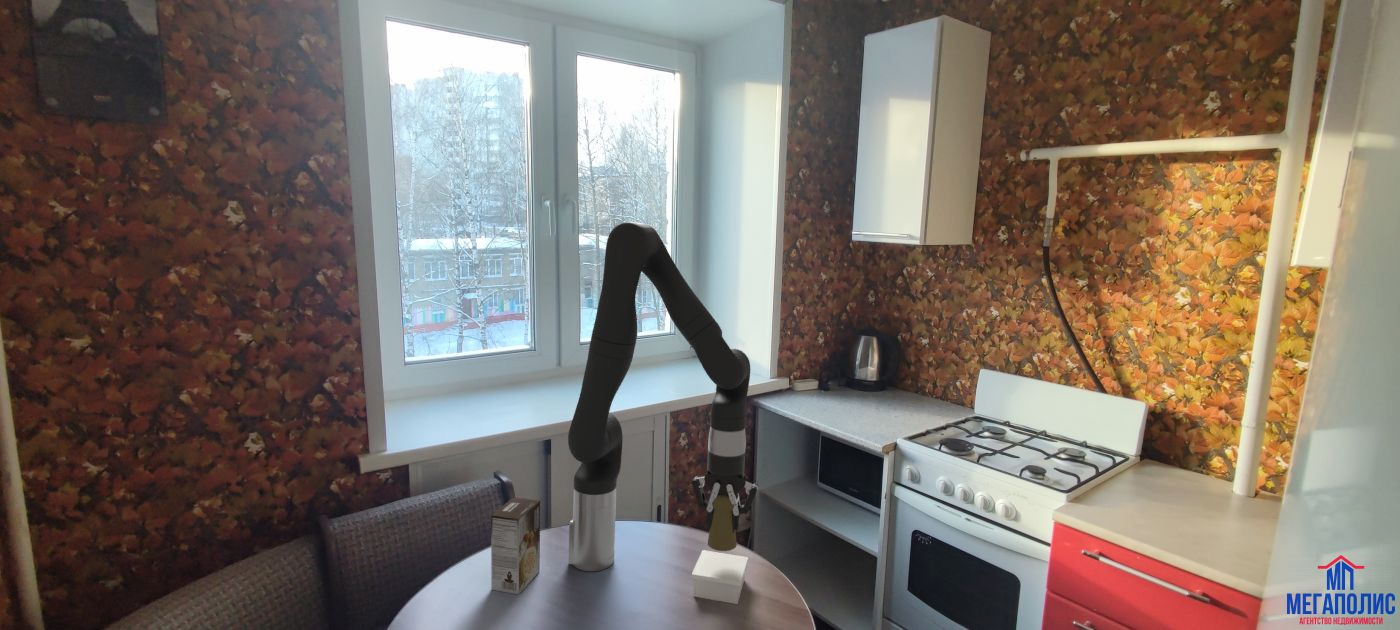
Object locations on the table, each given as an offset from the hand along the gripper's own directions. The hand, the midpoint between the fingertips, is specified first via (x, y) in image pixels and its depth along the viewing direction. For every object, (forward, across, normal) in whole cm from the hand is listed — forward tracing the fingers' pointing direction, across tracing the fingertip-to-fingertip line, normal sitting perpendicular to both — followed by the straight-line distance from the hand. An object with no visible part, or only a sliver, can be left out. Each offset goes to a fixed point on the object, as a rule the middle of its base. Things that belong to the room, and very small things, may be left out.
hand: (722, 528), depth 125 cm
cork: (+3, 0, 0) cm, 3 cm away
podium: (+13, 0, 0) cm, 13 cm away
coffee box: (+13, -41, -10) cm, 44 cm away
